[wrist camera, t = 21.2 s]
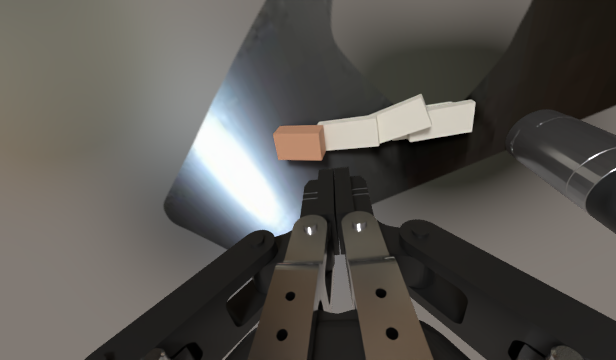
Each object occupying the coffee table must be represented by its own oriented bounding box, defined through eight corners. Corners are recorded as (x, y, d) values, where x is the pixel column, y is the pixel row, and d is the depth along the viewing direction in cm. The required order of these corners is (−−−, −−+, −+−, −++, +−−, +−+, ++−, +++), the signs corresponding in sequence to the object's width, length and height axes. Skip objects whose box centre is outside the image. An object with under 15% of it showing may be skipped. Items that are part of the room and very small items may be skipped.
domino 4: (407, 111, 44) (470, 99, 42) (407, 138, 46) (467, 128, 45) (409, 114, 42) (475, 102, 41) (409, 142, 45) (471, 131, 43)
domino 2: (319, 121, 46) (376, 114, 42) (324, 146, 49) (379, 141, 45) (316, 125, 45) (375, 118, 41) (322, 151, 47) (378, 146, 44)
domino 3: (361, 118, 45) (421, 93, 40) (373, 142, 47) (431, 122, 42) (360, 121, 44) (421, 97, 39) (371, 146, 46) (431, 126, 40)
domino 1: (280, 125, 47) (323, 124, 44) (285, 150, 49) (325, 150, 47) (272, 134, 44) (318, 133, 42) (278, 159, 47) (321, 160, 44)
